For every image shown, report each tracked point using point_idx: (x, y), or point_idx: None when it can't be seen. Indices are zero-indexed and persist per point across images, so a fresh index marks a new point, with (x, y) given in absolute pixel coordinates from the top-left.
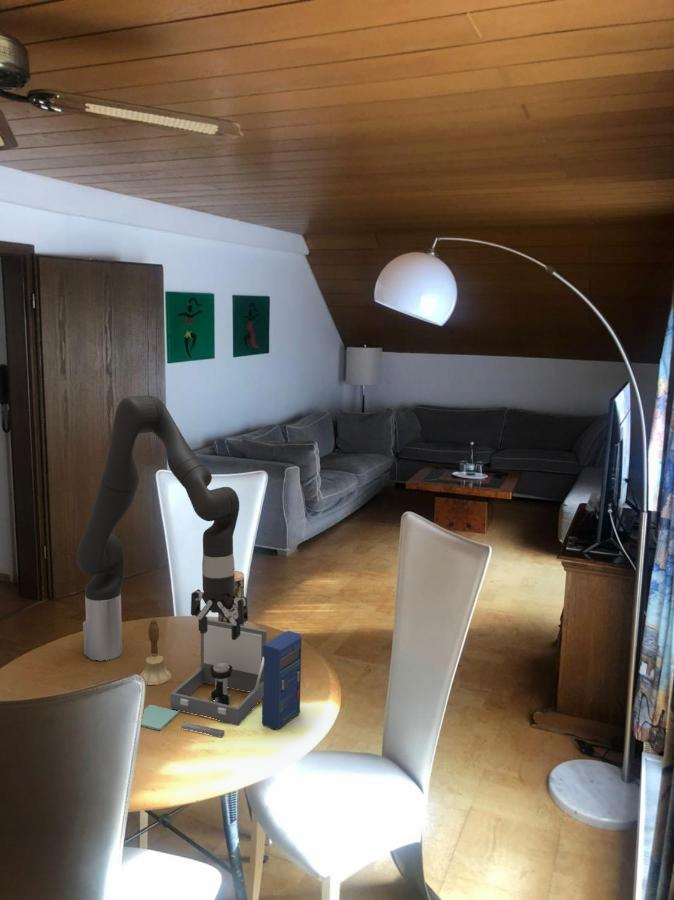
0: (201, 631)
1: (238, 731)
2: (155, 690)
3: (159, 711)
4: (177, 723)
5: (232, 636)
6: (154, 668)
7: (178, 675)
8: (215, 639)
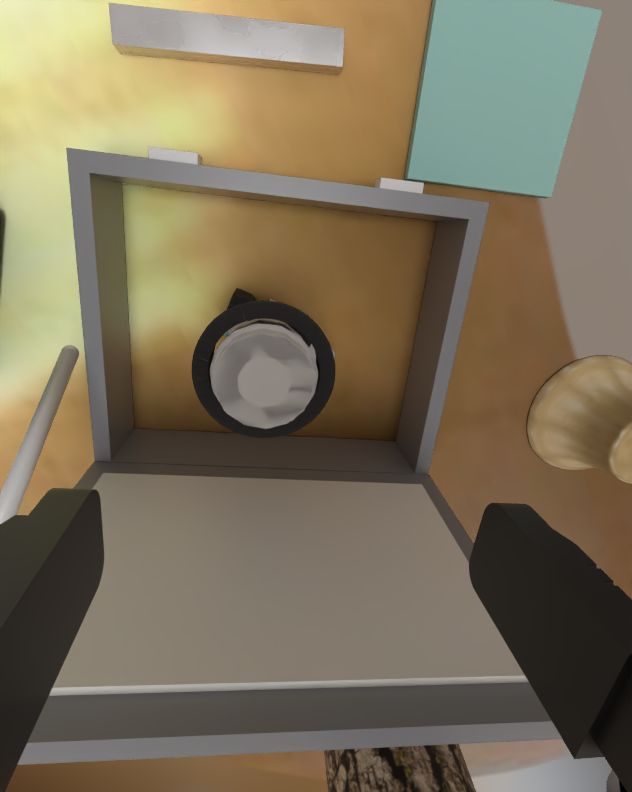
0: (526, 516)
1: (72, 108)
2: (558, 330)
3: (493, 148)
4: (381, 92)
5: (59, 511)
6: (623, 406)
7: (505, 456)
8: (397, 587)
